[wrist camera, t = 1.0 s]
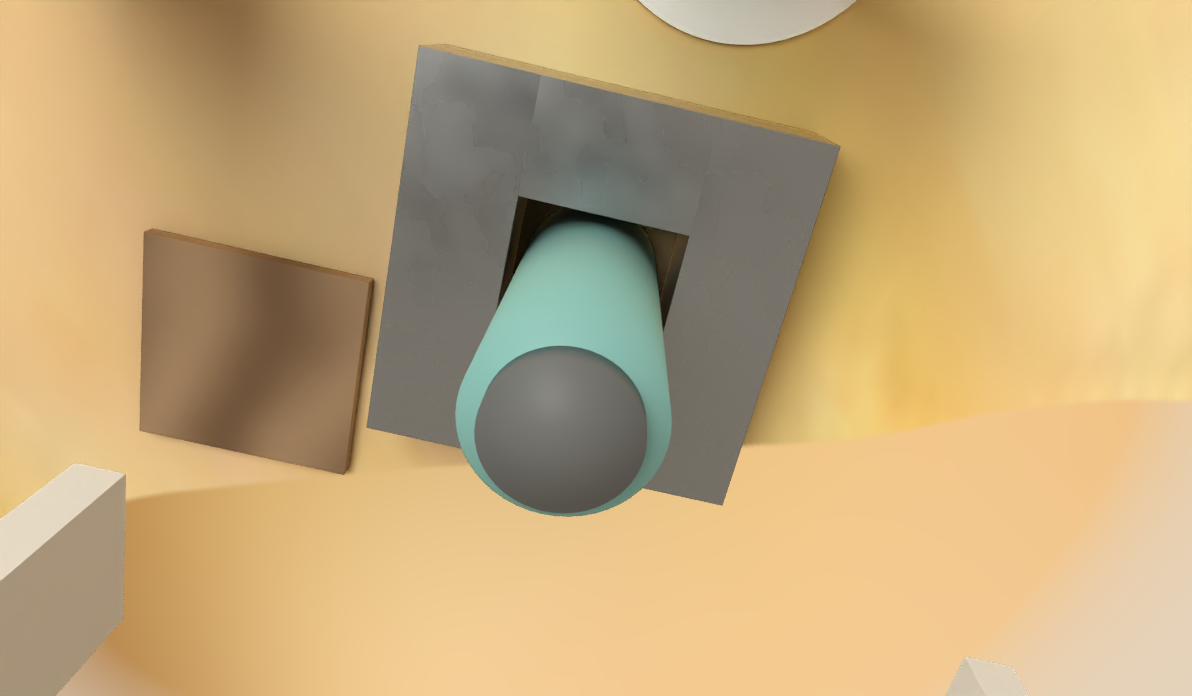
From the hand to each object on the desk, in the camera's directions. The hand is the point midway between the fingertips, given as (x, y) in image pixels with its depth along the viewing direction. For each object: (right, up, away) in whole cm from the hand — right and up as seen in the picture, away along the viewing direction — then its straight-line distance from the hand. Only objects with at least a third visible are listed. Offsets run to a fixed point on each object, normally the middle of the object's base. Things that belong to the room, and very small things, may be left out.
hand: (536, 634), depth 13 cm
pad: (-13, +4, +22) cm, 26 cm away
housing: (+1, +8, +20) cm, 21 cm away
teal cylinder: (+1, +8, +20) cm, 21 cm away
